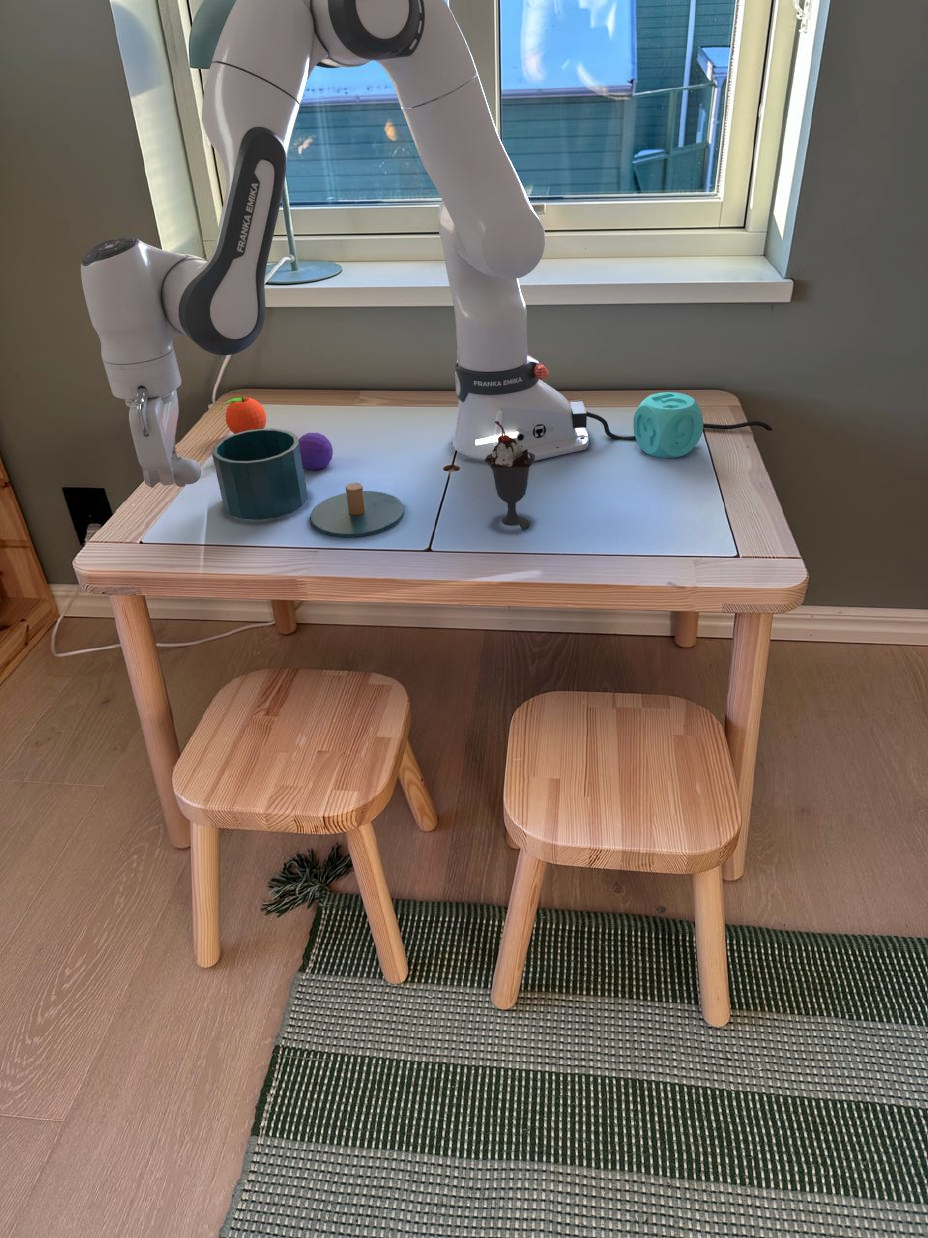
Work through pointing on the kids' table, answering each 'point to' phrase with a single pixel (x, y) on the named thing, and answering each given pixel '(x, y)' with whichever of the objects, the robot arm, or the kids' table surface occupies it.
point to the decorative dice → (668, 424)
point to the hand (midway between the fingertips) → (170, 473)
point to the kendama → (315, 451)
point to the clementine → (245, 415)
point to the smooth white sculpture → (177, 472)
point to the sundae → (510, 475)
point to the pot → (260, 473)
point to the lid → (357, 513)
